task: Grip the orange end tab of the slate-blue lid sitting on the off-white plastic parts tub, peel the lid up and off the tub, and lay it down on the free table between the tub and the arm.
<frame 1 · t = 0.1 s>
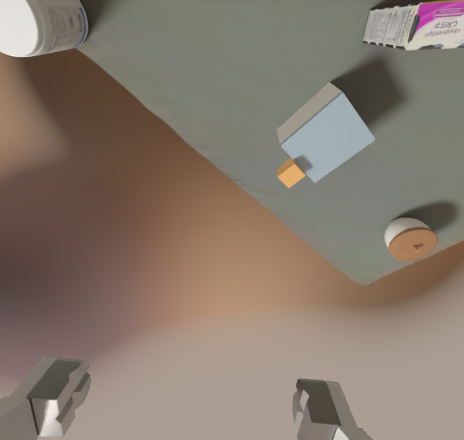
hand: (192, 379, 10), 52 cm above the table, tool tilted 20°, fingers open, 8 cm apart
lid: (326, 140, 48), point 8 cm above the table, touching tub
lidded jar: (398, 225, 70), on the table
tub: (317, 126, 54), on the table
supplement tub: (63, 16, 45), on the table
candy bar box: (398, 23, 43), on the table
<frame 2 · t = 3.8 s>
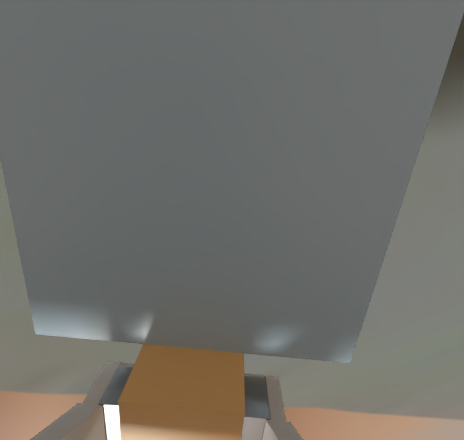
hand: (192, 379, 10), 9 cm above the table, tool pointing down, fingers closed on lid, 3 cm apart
lid: (208, 155, 8), point 8 cm above the table, touching gripper, tub
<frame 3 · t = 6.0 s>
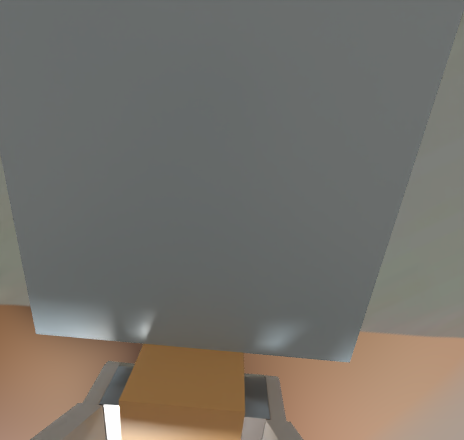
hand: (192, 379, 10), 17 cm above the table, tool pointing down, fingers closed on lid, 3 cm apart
lid: (208, 155, 8), point 17 cm above the table, touching gripper
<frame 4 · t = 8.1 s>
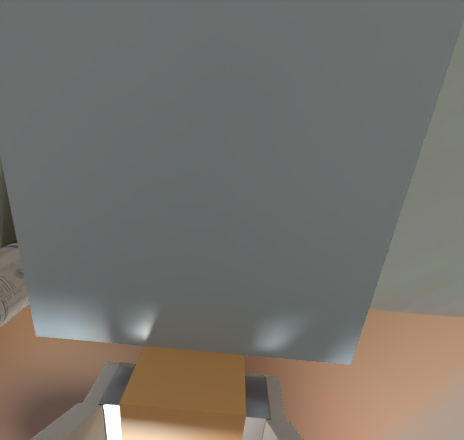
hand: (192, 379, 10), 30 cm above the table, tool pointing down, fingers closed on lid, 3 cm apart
lid: (209, 157, 8), point 30 cm above the table, touching gripper
supplement tub: (31, 266, 44), on the table
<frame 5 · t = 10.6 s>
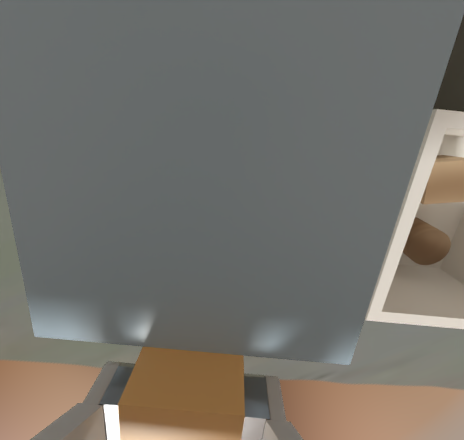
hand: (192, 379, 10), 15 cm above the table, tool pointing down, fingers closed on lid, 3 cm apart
lid: (208, 157, 8), point 14 cm above the table, touching gripper
part b: (407, 232, 23), point 1 cm above the table, touching tub
tub: (404, 202, 22), on the table
part a: (420, 175, 21), point 1 cm above the table, touching tub
when the fingers open (4 cm above the table, at t = 12.7 s): lid drops 3 cm, point 1 cm above the table.
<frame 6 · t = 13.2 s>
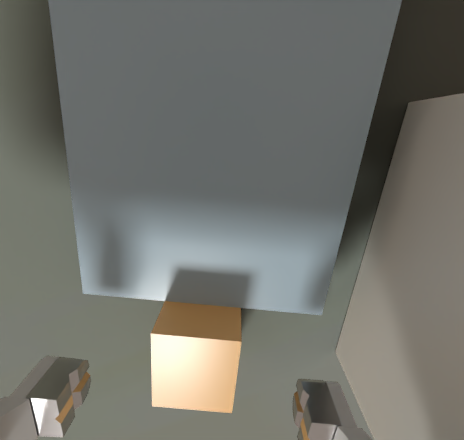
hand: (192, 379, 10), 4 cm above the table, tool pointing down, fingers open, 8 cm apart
lid: (214, 157, 11), point 1 cm above the table
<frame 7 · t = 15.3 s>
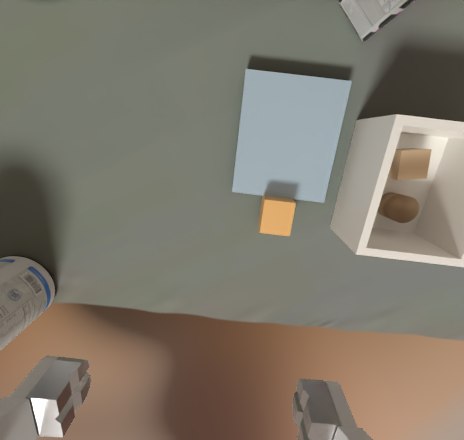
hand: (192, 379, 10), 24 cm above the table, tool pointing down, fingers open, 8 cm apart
lid: (286, 140, 29), point 1 cm above the table
part b: (389, 204, 31), point 1 cm above the table, touching tub
tub: (387, 182, 31), on the table
supplement tub: (27, 282, 38), on the table
part a: (397, 162, 30), point 1 cm above the table, touching tub
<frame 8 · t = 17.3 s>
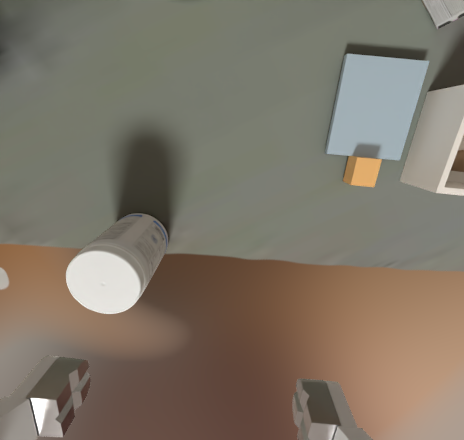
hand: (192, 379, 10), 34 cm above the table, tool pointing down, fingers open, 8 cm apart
lid: (371, 110, 37), point 1 cm above the table
part b: (450, 160, 39), point 1 cm above the table, touching tub
tub: (448, 142, 39), on the table
supplement tub: (143, 236, 46), on the table
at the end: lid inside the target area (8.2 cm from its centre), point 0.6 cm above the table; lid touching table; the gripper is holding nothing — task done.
